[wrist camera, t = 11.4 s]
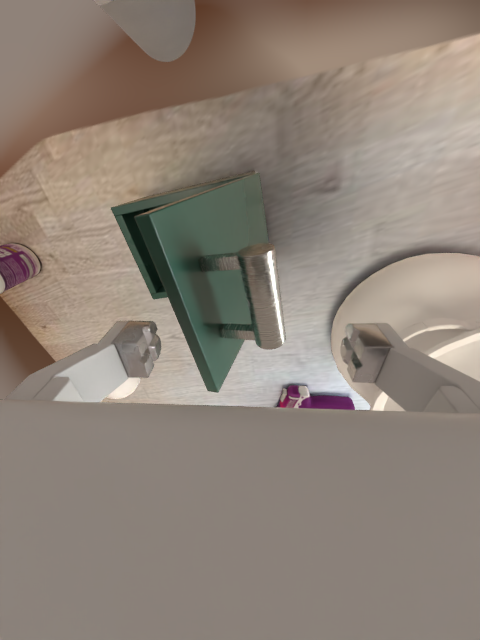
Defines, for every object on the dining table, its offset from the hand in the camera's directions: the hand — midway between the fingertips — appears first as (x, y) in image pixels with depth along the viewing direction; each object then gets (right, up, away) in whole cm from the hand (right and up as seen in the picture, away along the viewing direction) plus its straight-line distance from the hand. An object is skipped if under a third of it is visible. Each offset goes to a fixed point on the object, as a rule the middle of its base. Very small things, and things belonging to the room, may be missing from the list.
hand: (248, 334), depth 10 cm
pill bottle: (-34, +10, +26) cm, 44 cm away
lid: (-1, +5, +8) cm, 9 cm away
